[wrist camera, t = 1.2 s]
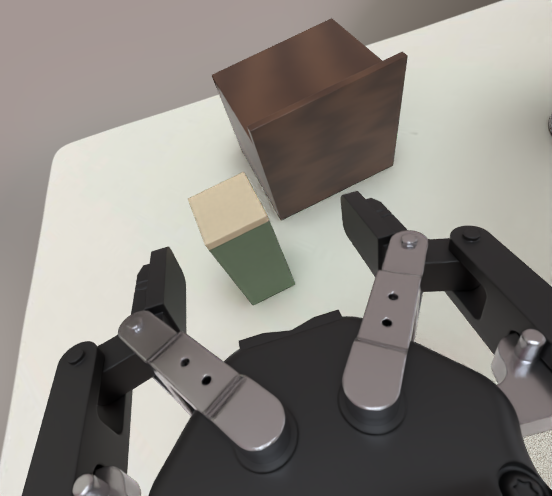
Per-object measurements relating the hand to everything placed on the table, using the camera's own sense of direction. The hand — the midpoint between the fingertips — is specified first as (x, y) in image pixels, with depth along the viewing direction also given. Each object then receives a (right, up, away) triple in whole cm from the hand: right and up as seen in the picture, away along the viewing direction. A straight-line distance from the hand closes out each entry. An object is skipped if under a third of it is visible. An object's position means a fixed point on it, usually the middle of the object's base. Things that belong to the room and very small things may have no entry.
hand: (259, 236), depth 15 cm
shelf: (+5, +12, +29) cm, 31 cm away
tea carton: (0, -4, +21) cm, 22 cm away
